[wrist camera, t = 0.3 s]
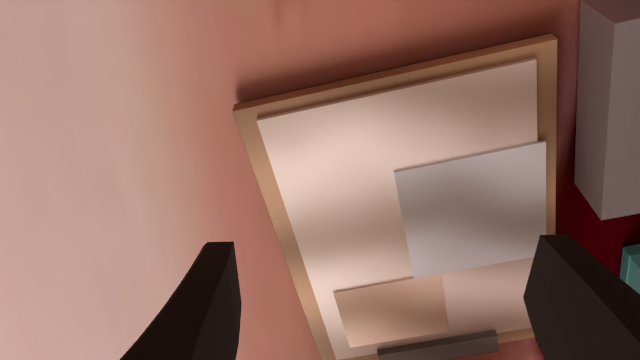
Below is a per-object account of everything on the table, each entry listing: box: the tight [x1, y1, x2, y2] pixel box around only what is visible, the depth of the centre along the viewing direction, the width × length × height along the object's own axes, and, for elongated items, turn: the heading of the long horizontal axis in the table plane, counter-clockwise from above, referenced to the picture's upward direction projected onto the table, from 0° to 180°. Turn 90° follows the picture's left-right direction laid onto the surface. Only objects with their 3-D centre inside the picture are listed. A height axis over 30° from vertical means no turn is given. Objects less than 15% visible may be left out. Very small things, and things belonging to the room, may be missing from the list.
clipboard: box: [233, 34, 557, 360], centre depth 25 cm, size 16×12×1 cm
